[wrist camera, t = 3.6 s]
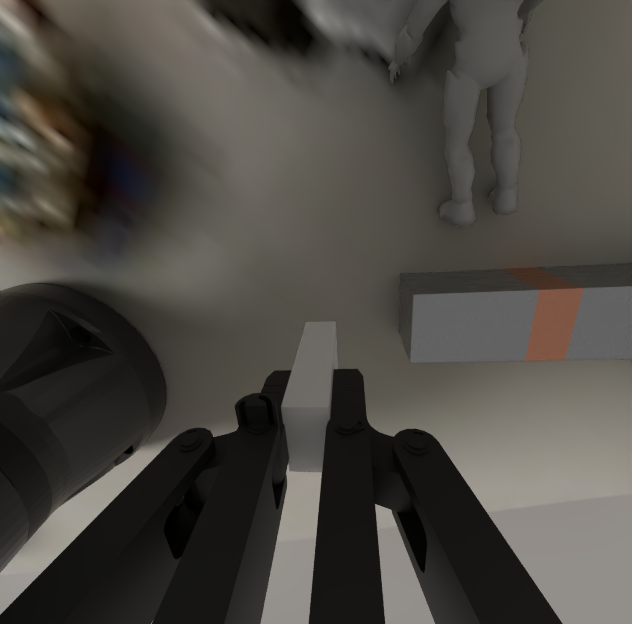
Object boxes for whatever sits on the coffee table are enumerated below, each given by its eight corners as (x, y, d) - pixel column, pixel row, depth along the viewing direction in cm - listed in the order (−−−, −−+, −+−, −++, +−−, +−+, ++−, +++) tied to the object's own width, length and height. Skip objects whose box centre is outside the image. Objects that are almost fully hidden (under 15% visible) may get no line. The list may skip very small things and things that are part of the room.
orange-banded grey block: (398, 331, 21) (410, 362, 17) (400, 273, 20) (413, 294, 16) (626, 325, 20) (690, 357, 16) (646, 262, 18) (723, 282, 15)
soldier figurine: (508, 168, 19) (537, -162, 11) (562, 204, 15) (662, -264, 7) (404, 200, 20) (365, -78, 13) (429, 243, 16) (394, -127, 9)
